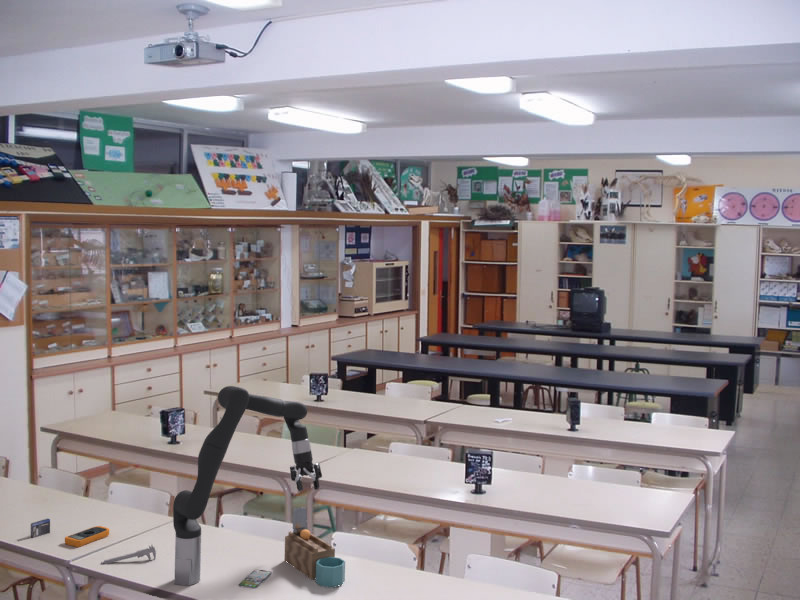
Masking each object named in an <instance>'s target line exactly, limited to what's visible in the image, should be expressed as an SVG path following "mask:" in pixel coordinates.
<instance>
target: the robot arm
mask: <svg viewBox="0 0 800 600" xmlns="http://www.w3.org/2000/svg"><path fill="white" fill-rule="evenodd" d="M217 401H218V404H219V406H221V408H223V409H224V410H225V411H224V413H223V415H222V418H221V419H220V421H219V422H218V424H216V425H215V427H214V428H213V429H212V430H210V432H209V433H208V434H207V436H206V437H205V438H204V441H203V442H202V445H201V448H200V449H199V451H198V452H199V453H198V456H197V476H196V477H197V478H196V481H195V484H194V486H193V489H192V491H191V490H187V489H185V490H181V491H180V492H178V493H177V494H176V496H175V498H174V501H173V505H172V520H173V521H172V522H173V523H172V524H173V528H174V532H175V538H174V539H175V542H174V543H175V544H174V551H175V552H174V585H180V586H191V585H193V584H197V583H199V582H200V581H201V561H202V560H201V559H202V557H201V556H202V555H201V553H202V550H201V549H202V527H201V525H200V524H199V522H198V521H197V519H199V518H201V517H202V515H203V514H204V513H205V512H206V509H207V505H208V503H209V499H210V495H211V493H212V490H213V486H214V483H215V481H216V477H217V475H218V472H219V470H220V468H221V466H222V463H223V461H224V458H225V456H226V454H227V451H228V448H229V445H230V443H231V441H232V438H233V436H234V434H235V431H236V429H237V426H238V425H239V422H240V421H241V419H242V418H243V415H244V413H245V412H246V410H249V411H253V412H256V413H260V414H263V415H267V416H271V417H272V416H273V417H278V418H283V420H284V422H285V424H286V427H287V428H288V431H289V434H290V440H291V449H292V450H291V451H292V455H293V460H294V465H290V466H289V470H290V478H291V479H290V480H291V481H293V482H295V484H296V485H295V486H296V488H297V490H298V492H301V491H303V489H304V488H303V483H302V478H303V476H306V477H307V476H309V478H311V479H312V480H313V481H312V483H313V489H314V491H317V490H319V489H320V482H319V481H320V479H321V478H323V475H322V471H321V469H322V468H321V464H320V463H319V462H318V463H313V461H314V459H313V453H312V448H311V443H310V439H309V434H308V433H309V432H308V428H307V427H306V425H305V424H302V423H300V420H303V419H305V418H306V416H307V415H308V408H307V405H305V404H304V403H302V402H300V401H294V400H293V401H291V400H283V399H279V398H275V397H270V396H264V395H258V394H252V393H249V391H248V390H247V389H246V388H244V387H239V386H233V385H227V386H224V387H223V388H221V390H219V392H218V395H217Z"/></svg>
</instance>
